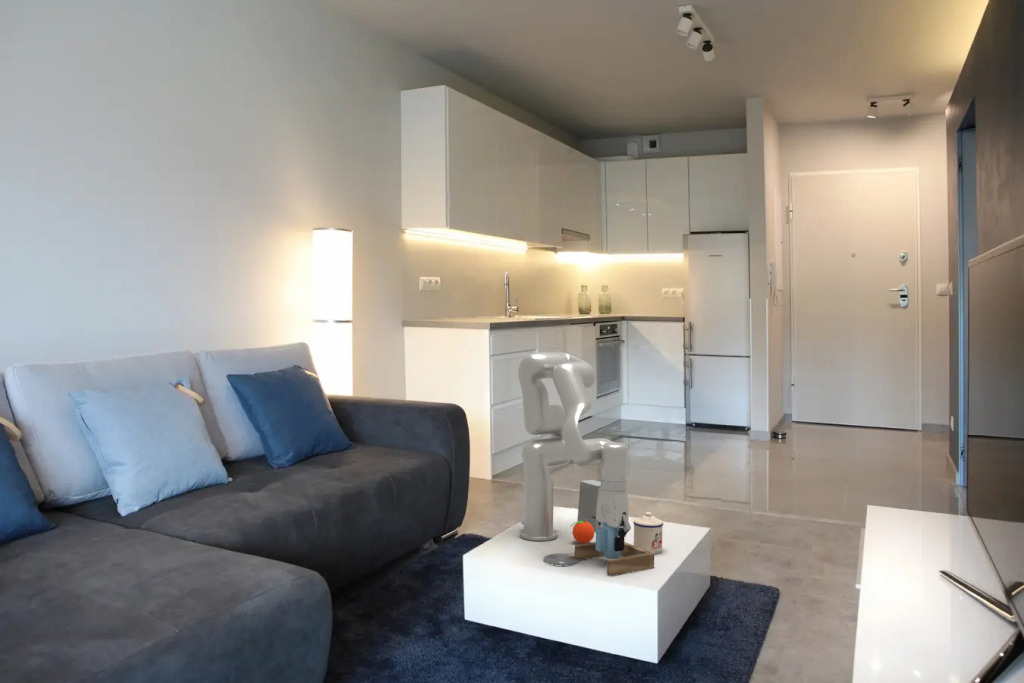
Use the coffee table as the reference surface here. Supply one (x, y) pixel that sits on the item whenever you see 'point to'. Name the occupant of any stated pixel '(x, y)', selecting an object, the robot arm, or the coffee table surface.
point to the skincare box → (588, 502)
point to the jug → (607, 541)
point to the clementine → (583, 532)
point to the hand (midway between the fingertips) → (612, 546)
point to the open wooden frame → (629, 562)
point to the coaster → (561, 559)
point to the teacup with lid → (648, 533)
